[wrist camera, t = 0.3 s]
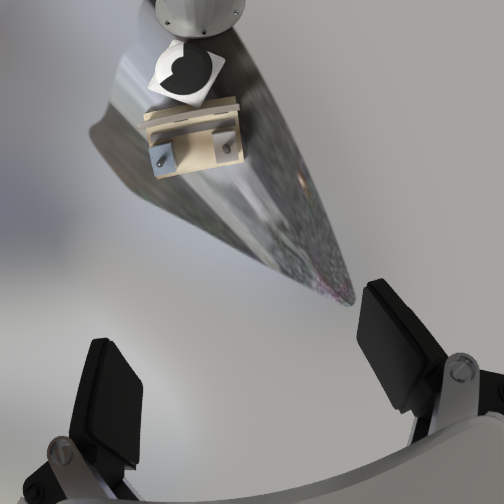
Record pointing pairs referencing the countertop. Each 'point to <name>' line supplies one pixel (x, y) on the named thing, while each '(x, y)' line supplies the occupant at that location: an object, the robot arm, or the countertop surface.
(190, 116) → the board
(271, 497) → the robot arm
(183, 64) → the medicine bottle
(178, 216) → the countertop surface
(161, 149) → the sliding pin
